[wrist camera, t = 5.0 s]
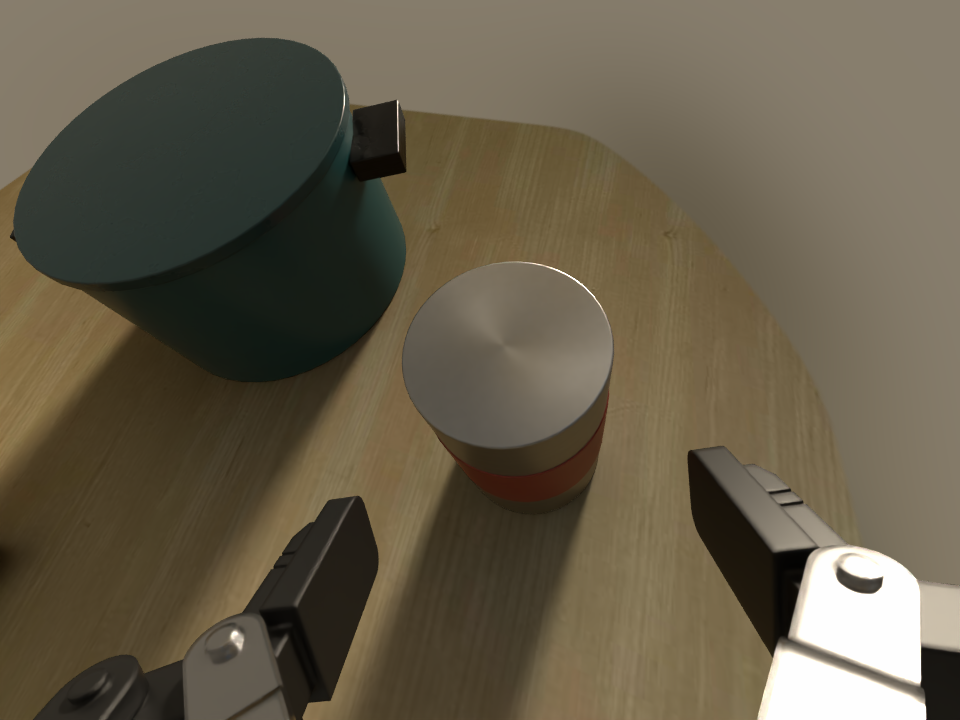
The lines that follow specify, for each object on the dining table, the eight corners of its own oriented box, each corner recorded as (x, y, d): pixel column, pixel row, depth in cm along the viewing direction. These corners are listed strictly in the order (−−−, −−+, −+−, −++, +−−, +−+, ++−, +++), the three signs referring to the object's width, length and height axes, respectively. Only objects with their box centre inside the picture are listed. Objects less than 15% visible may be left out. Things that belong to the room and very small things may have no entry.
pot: (435, 155, 34) (387, -1, 25) (449, 356, 26) (386, 228, 17) (174, 212, 36) (48, 86, 28) (114, 412, 28) (-91, 324, 20)
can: (584, 375, 24) (590, 243, 15) (613, 505, 21) (641, 431, 12) (460, 395, 25) (398, 279, 16) (470, 523, 22) (401, 466, 13)
